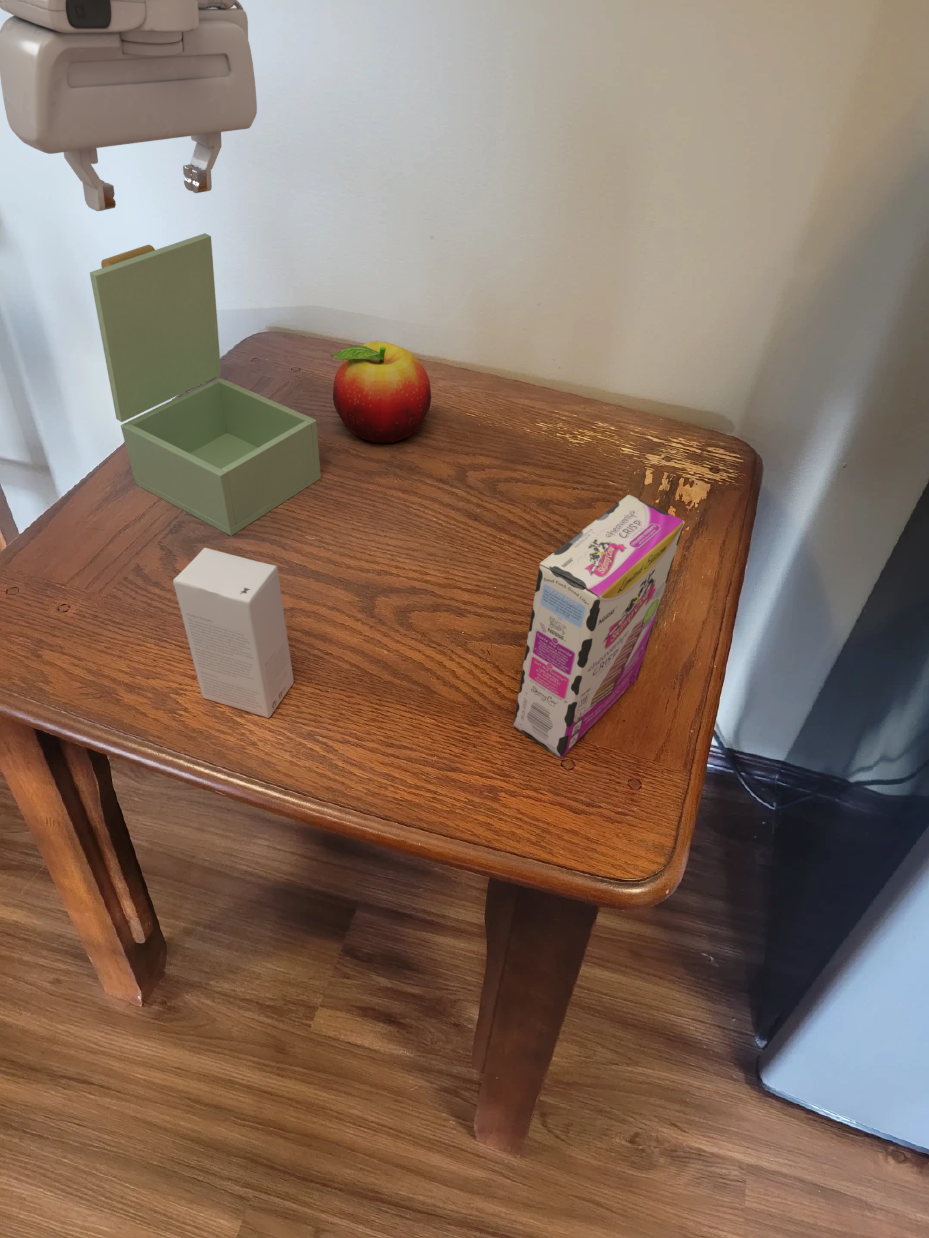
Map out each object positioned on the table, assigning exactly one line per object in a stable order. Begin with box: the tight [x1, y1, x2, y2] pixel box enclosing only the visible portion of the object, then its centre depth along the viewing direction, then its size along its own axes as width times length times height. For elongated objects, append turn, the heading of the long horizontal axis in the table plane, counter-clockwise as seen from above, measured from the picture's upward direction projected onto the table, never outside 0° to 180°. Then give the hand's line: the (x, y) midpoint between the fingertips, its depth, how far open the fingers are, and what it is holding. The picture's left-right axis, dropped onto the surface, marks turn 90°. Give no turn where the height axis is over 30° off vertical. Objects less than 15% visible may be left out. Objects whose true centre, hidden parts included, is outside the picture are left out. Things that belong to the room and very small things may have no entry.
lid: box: [89, 233, 222, 423], centre depth 80 cm, size 14×13×5 cm
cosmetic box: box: [172, 547, 295, 719], centre depth 62 cm, size 6×4×12 cm
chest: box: [120, 376, 322, 537], centre depth 85 cm, size 14×13×7 cm
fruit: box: [329, 340, 432, 444], centre depth 92 cm, size 11×11×10 cm
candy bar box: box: [512, 494, 686, 759], centre depth 61 cm, size 11×5×16 cm, turn 140°
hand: (151, 199), depth 69 cm, fingers open, 8 cm apart
